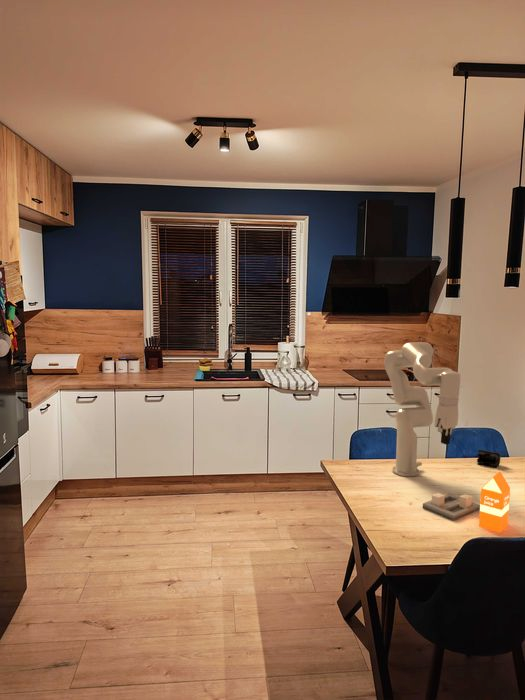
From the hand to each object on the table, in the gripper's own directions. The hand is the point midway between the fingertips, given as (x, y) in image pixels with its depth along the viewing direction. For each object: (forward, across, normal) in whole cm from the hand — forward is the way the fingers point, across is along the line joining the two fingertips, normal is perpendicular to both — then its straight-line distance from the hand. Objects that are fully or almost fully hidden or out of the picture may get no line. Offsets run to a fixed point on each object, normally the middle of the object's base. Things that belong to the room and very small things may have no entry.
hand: (445, 443), depth 213 cm
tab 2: (+22, +4, +14) cm, 26 cm away
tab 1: (+22, +12, +7) cm, 26 cm away
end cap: (+25, -55, -12) cm, 62 cm away
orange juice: (+22, +8, +28) cm, 37 cm away
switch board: (+23, +8, +10) cm, 26 cm away
